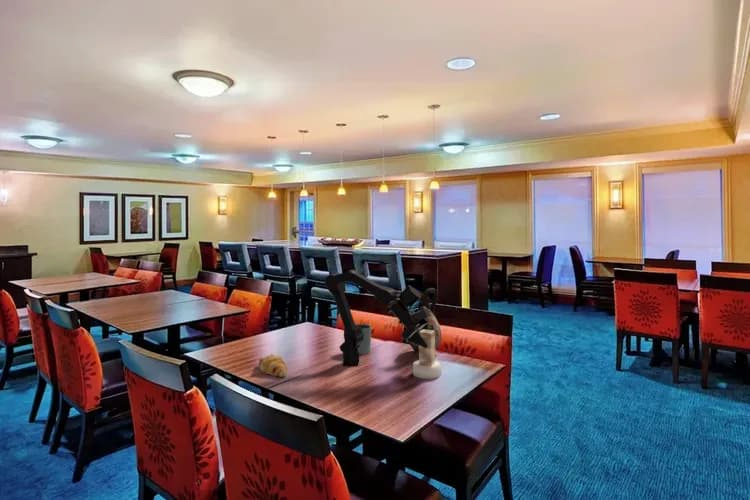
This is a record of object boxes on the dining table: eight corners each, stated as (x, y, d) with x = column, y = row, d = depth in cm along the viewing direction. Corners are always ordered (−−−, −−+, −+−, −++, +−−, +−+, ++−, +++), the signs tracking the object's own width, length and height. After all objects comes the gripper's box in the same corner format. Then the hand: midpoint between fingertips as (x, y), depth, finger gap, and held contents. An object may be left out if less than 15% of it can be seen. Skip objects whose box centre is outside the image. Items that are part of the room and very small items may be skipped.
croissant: (291, 385, 169) (299, 365, 171) (270, 379, 163) (279, 358, 165) (266, 370, 185) (274, 353, 187) (246, 364, 179) (255, 346, 181)
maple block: (419, 365, 168) (418, 332, 168) (422, 361, 173) (422, 329, 172) (431, 366, 166) (431, 333, 166) (435, 362, 171) (434, 330, 170)
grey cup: (371, 354, 196) (370, 328, 195) (349, 355, 196) (348, 329, 195) (371, 348, 206) (371, 323, 205) (350, 348, 206) (350, 323, 205)
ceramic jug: (418, 359, 187) (417, 291, 186) (402, 350, 202) (401, 287, 200) (451, 354, 194) (451, 288, 192) (433, 346, 208) (433, 284, 207)
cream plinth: (415, 379, 164) (415, 369, 164) (411, 369, 175) (411, 360, 175) (444, 378, 165) (444, 368, 164) (438, 368, 176) (437, 359, 175)
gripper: (409, 305, 161) (438, 337, 157) (424, 297, 178) (450, 325, 174) (389, 324, 165) (417, 355, 161) (406, 314, 182) (431, 343, 178)
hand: (430, 344), depth 168 cm, fingers open, 9 cm apart
